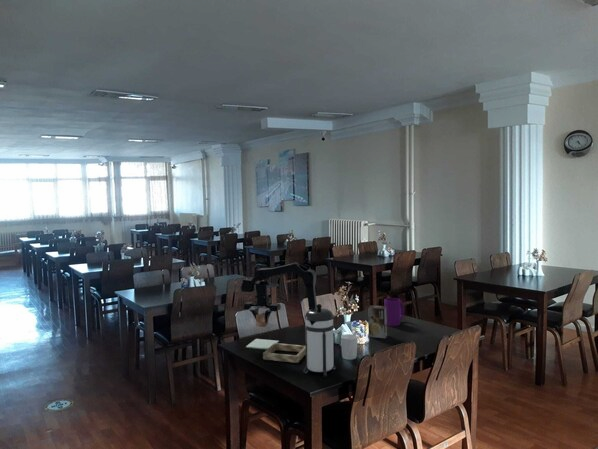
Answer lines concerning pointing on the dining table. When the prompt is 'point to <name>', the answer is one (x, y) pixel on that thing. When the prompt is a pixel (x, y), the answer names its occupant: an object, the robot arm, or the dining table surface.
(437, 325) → the dining table surface
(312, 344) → the coffee press
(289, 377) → the dining table surface
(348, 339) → the white cup
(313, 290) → the robot arm
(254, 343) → the sage board
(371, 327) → the coffee box
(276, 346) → the pine frame
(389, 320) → the mug
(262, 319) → the terracotta block
